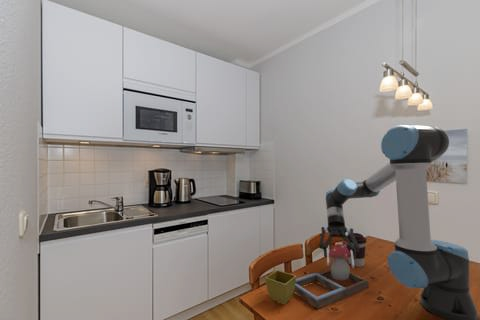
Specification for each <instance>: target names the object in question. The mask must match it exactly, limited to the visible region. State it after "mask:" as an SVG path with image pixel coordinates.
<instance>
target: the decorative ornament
mask: <svg viewBox="0 0 480 320" xmlns="http://www.w3.org/2000/svg"><path fill="white" fill-rule="evenodd" d="M347 246H348V243H347V242H346V241H344V240H343V241H342V244H341V243H338V244H335V245H333V247H332V248H330V250H329V258H330V259H333V260H332V263H331V266H330V269H331V271H330V273H331V278H332V279H334V280H336V281H337V280H338V281H345V280H348V278H349V274H350V273H351V268H350V264H349V262H347V259H348V257H350V252H349V250H348V249H347Z"/></svg>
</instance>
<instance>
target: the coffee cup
mask: <svg viewBox="0 0 480 320" xmlns="http://www.w3.org/2000/svg"><path fill="white" fill-rule="evenodd" d="M353 234H354V236H355V238H356V241H357V243H358V246H359V251H358V252H357V251H356V252H355V254H356V259H355V260H354V267H358V268H359V267H363V266H365V257H366V243H367V238H366V237H364V236H363V234H361V233H359V232H358V233H356V232H353ZM346 236H347V238H348V239H349V241H350V242H351V244H352V245H353V242H352V240H351V237H350V234H347V235H346ZM353 246H354V245H353ZM354 248H355V247H354ZM347 249H348V250H349V252H350V249H349V247H348V246H347ZM347 260H348V262H347V263H348V265H350V264H351V258H350V257H348V258H347Z"/></svg>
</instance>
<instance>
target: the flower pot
mask: <svg viewBox="0 0 480 320" xmlns="http://www.w3.org/2000/svg"><path fill="white" fill-rule="evenodd" d="M296 279H297V276H296V275H295V274H293V273H292V274H291V273H288V272H285V271H281V270H279V269H276V270H274V271H273V272H271V273H270V274H269V275H267V276H266V277H265V284H266V289H267V294H268V295H269V297H270V299H271V300H272V301H273V300H274V301H273V302H275V301H277V302H276V303H278V302H279V303H278V304H280V303H281V304H280V305H282V304H283V305H284V304H285V305H286V304H287V303H288V302H289V301H290V300H291V298H292V297H293V295H294V294H295V293H294V290H295V282H296ZM286 302H287V303H286ZM285 305H284V306H285Z"/></svg>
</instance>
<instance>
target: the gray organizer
mask: <svg viewBox="0 0 480 320" xmlns="http://www.w3.org/2000/svg"><path fill="white" fill-rule="evenodd" d="M330 271H331V268H330V269H328V270H325V271H322V272H319V273H318V272H317V273H318V274H320V275H322V276H324V277H326V278H328V279H330V278H329V277H331V273H330ZM331 278H332V277H331ZM348 279H349V280H348ZM348 279H347V280H348V281H350V280H351V281H350V282H352V281H353V282H352V283H354V282H355V283H354V284H351V285H349V286H346V287H345V288H346V290H344V291H341V292H339V293H336V294H334V295H331V296H329V297H326V298H324V299H321V300H319V301H316V300H315V299H313V298H312V297H310V296H309V295H307V294H306V293H304V292H303V291H301V290H300V289H298V288H297V287H295V290H294V292H296V293H297V294H298V295H300V296H301V297H302V298H304V299H305V300H306V301H307V302H306V301H305V300H304V301H305V302H306V303H308V302H309V303H310V304H309V303H308V304H309V305H311V304H312V305H313V306H314V308H315V307H316V308H319V309H321V308H320V307H322V308H324V307H326V306H328V304H329V305H331V304H333V302H334V303H336V302H339V301H341V300H343V299H345V298H347V297H350V296H352V294H353V295H354V294H357V293H359V292H363V291H365V290H367V289H369V280H368V279H366V278H363V277H361V276H359V275H357V274H354V273H352V272H350V274H349V278H348ZM314 282H316V283H317V282H318V283H320V284H321V285H320V284H319V285H320V286H322V285H323V286H322V287H324V286H325V287H326V288H325V287H324V288H325V289H327V288H328V289H327V290H329V291H330V290H331V291H333V290H336V289H339V288H338V287H336V286H334V285H333V284H331V283H329V282H327V281H325V280H323V279H321V278H320V277H318V276H314V277H311V278H308V279H305V280H302V281H299V282H296V284H298V285H299V286H304V285H307V284H310V283H313V284H315V283H314ZM318 283H317V284H318ZM366 288H367V289H366ZM331 291H330V292H331ZM298 295H297V296H298ZM301 297H300V298H301ZM302 298H301V299H302ZM340 299H341V300H340ZM330 303H331V304H330ZM312 305H311V306H312ZM325 305H326V306H325ZM313 306H312V307H313ZM323 306H324V307H323ZM316 308H315V309H316Z"/></svg>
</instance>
